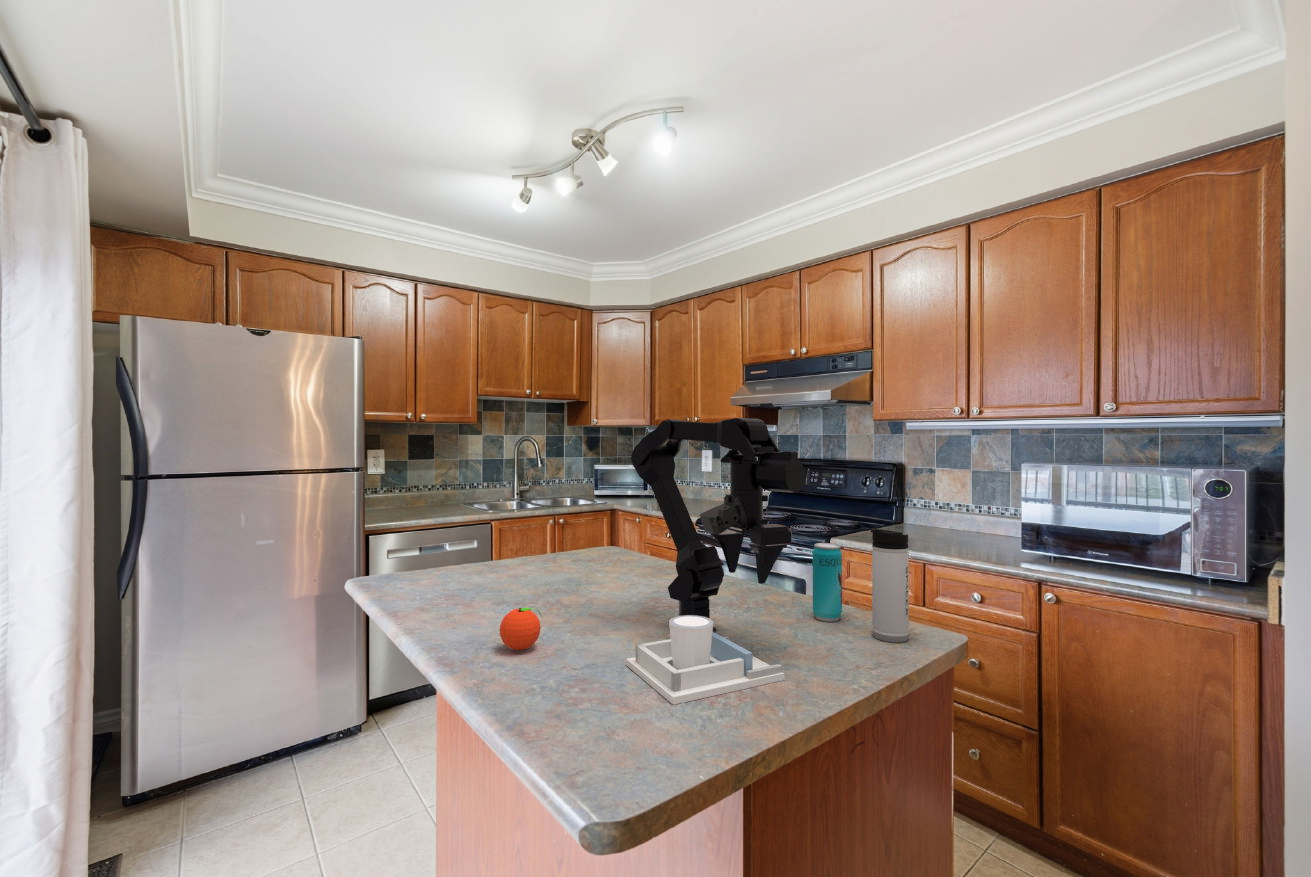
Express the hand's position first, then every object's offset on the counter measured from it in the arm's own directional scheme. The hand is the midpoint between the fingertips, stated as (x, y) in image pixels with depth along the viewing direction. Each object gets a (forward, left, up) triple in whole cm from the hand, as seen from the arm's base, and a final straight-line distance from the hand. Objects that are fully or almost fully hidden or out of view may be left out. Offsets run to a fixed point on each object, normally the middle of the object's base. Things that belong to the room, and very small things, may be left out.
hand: (746, 577), depth 102 cm
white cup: (+7, -15, -11) cm, 20 cm away
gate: (+7, -9, -11) cm, 16 cm away
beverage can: (-6, +24, -12) cm, 28 cm away
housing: (+7, -13, -12) cm, 19 cm away
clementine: (-16, -35, -12) cm, 41 cm away
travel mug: (+8, +26, -12) cm, 30 cm away
